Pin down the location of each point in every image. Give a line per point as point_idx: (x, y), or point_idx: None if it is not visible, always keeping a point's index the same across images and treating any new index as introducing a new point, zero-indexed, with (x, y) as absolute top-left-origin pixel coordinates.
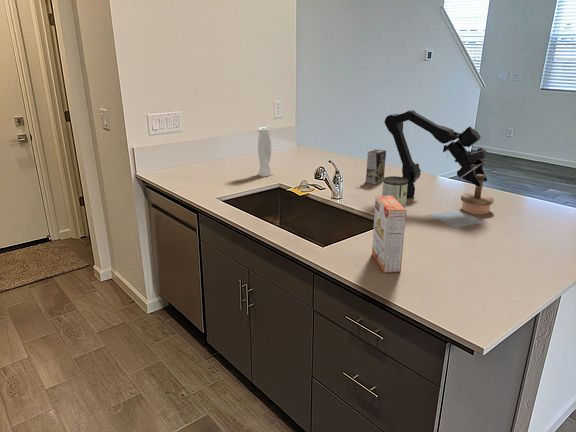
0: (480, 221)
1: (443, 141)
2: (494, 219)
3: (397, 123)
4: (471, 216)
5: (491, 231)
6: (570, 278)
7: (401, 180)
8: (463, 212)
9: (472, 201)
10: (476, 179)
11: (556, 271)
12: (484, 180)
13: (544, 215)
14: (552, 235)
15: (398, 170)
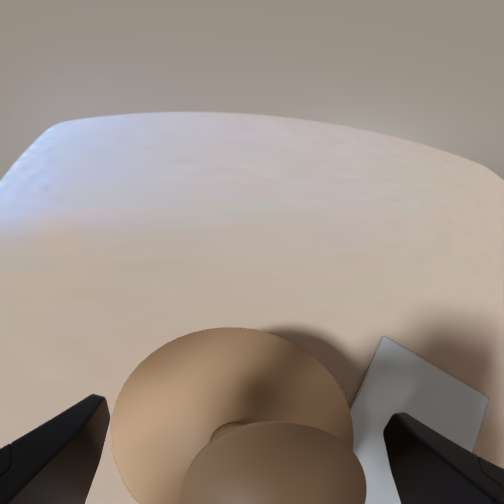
0: (397, 358)
1: None
2: (316, 317)
3: None
4: (361, 416)
5: (441, 297)
6: (480, 164)
7: None
8: None
9: (348, 444)
10: (466, 455)
11: (481, 176)
12: (103, 428)
13: (142, 159)
14: (337, 150)
15: None
